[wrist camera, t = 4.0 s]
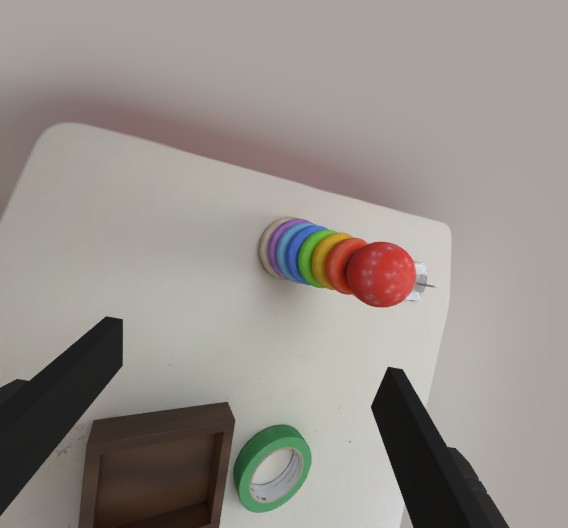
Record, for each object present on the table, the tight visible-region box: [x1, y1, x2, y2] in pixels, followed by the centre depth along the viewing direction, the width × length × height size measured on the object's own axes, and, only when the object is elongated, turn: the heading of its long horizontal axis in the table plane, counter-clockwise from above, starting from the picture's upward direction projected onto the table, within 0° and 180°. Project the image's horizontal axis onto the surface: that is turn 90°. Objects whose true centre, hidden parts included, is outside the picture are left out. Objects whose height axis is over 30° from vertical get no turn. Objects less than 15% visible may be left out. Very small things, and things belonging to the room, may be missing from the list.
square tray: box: [78, 402, 235, 528], centre depth 31 cm, size 14×14×4 cm
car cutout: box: [404, 262, 436, 301], centre depth 43 cm, size 15×7×4 cm, turn 79°
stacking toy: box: [260, 217, 416, 307], centre depth 27 cm, size 8×8×19 cm
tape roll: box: [234, 425, 311, 513], centre depth 38 cm, size 11×11×3 cm
